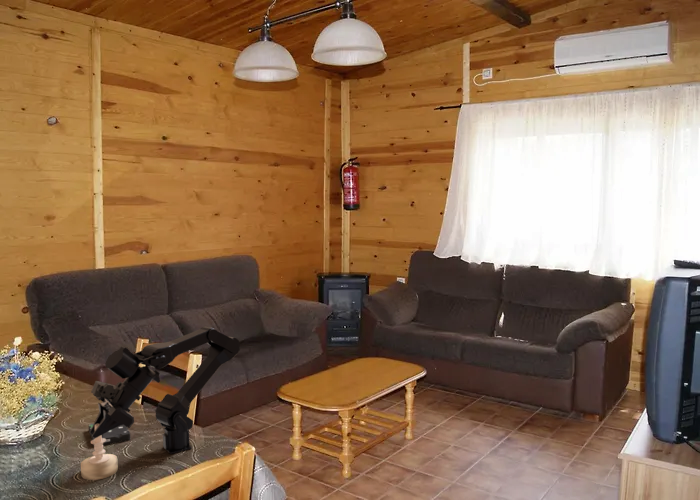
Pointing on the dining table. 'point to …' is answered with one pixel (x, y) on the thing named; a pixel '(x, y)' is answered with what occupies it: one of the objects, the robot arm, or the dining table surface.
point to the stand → (99, 468)
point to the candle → (98, 451)
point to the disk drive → (114, 435)
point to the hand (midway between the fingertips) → (92, 435)
